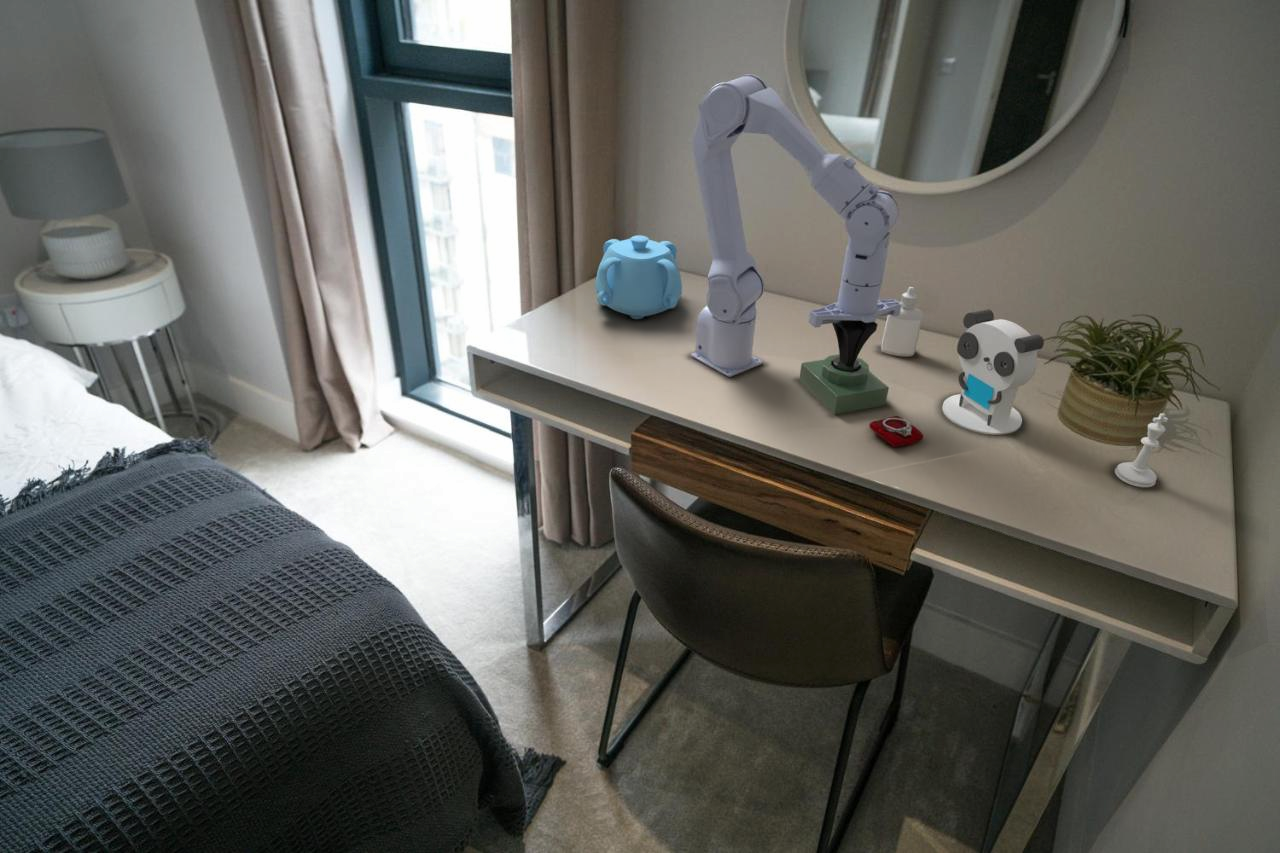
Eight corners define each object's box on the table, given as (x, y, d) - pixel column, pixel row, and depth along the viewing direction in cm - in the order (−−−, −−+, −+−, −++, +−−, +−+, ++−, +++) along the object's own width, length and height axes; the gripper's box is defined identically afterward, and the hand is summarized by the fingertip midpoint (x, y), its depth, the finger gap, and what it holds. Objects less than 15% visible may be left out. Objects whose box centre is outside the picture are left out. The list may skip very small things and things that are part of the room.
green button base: (798, 380, 128) (802, 352, 125) (847, 372, 130) (852, 345, 127) (834, 414, 119) (839, 385, 116) (885, 405, 121) (891, 377, 119)
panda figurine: (923, 401, 123) (945, 313, 114) (979, 388, 126) (1004, 301, 118) (979, 441, 113) (1007, 348, 105) (1038, 425, 117) (1069, 334, 109)
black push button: (826, 369, 124) (828, 357, 123) (848, 365, 125) (850, 354, 124) (839, 381, 120) (842, 369, 119) (862, 377, 122) (864, 365, 120)
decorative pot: (587, 320, 145) (585, 249, 138) (604, 286, 159) (604, 220, 151) (674, 328, 143) (678, 256, 136) (684, 293, 157) (688, 226, 149)
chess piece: (1107, 466, 109) (1133, 404, 103) (1140, 465, 109) (1168, 403, 104) (1128, 488, 105) (1156, 425, 99) (1163, 487, 105) (1193, 423, 100)
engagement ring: (893, 452, 111) (897, 435, 109) (865, 431, 115) (868, 415, 113) (924, 442, 113) (928, 426, 111) (895, 422, 117) (899, 406, 116)
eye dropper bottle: (905, 361, 134) (920, 296, 127) (876, 350, 137) (889, 286, 130) (918, 353, 136) (933, 288, 130) (888, 342, 140) (902, 279, 133)
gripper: (832, 295, 109) (818, 381, 116) (920, 284, 113) (901, 367, 120) (807, 276, 115) (795, 359, 122) (892, 266, 119) (875, 347, 126)
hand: (846, 362), depth 122 cm, fingers closed, pressing on black push button
